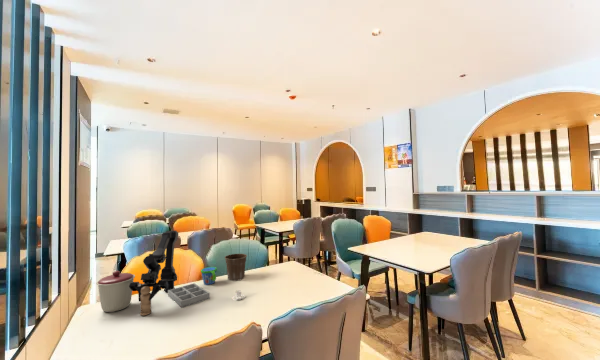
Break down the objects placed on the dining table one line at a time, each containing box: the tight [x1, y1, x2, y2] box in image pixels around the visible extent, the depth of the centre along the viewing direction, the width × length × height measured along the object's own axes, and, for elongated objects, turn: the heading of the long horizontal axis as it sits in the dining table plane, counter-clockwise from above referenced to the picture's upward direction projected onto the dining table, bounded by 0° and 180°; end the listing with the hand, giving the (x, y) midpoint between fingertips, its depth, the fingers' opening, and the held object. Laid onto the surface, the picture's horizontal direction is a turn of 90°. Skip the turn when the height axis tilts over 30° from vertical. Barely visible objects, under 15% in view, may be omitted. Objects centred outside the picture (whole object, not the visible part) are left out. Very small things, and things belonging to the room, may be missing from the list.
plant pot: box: [224, 253, 248, 281], centre depth 194 cm, size 16×16×16 cm
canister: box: [96, 270, 136, 313], centre depth 149 cm, size 18×18×21 cm
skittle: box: [139, 286, 153, 317], centre depth 140 cm, size 5×5×14 cm
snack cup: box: [200, 266, 218, 286], centre depth 184 cm, size 16×10×10 cm
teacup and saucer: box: [231, 290, 246, 301], centre depth 157 cm, size 9×8×4 cm
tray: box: [167, 282, 211, 309], centre depth 161 cm, size 24×16×4 cm
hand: (144, 300), depth 138 cm, fingers closed on skittle, 5 cm apart
